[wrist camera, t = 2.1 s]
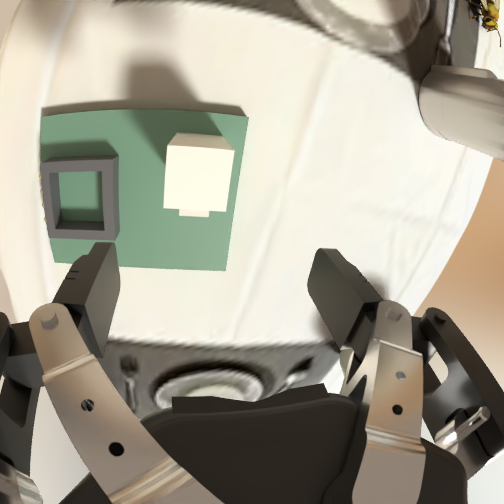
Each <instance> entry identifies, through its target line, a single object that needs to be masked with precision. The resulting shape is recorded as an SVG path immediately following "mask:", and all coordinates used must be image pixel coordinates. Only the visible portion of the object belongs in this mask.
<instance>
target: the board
mask: <svg viewBox="0 0 504 504" xmlns="http://www.w3.org/2000/svg"><path fill="white" fill-rule="evenodd" d="M248 119H249V117H245V116H238V115H230V114H221V113H211V112H200V111H186V110H165V109H117V110H97V111H84V112H74V113H65V114H57V115H50V116H44V117H41V163H40V167H41V174H40V179H41V182H42V189H41V193H42V194H43V202H44V203H43V204H42V206H43V208H44V210H45V218H44V220H45V222H46V224H47V230H48V236H49V238H50V243H51V248H52V252H53V257H54V261H55V262H56V263H70V264H73V263H74V262H75V261H76V260H77V259H78V258H80V257H81V256H82V255H88V254H89V252H90V250H91V249H92V247H93V245H94V244H95V242H114V243H115V245H116V252H117V260H118V266H120V267H139V268H160V269H183V270H210V271H226V264H227V257H228V250H229V242H230V235H231V228H232V221H233V214H234V208H235V201H236V194H237V188H238V181H239V175H240V168H241V162H242V156H243V150H244V143H245V137H246V131H247V125H248ZM177 132H178V133H194V134H207V135H218V136H223V137H224V138H225V139H226V140H227V142H228V143H229V144H230V145H231V147H232V148H233V149H234V150H235V152H234V158H233V165H232V172H231V179H230V185H229V193H228V200H227V207H226V212H222V211H209V217H195V216H179V209H170V208H163V207H164V185H165V169H166V156H167V145H168V144H169V143H170V141H171V140H172V139H173V137H174V136H175V135H176V133H177Z"/></svg>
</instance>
